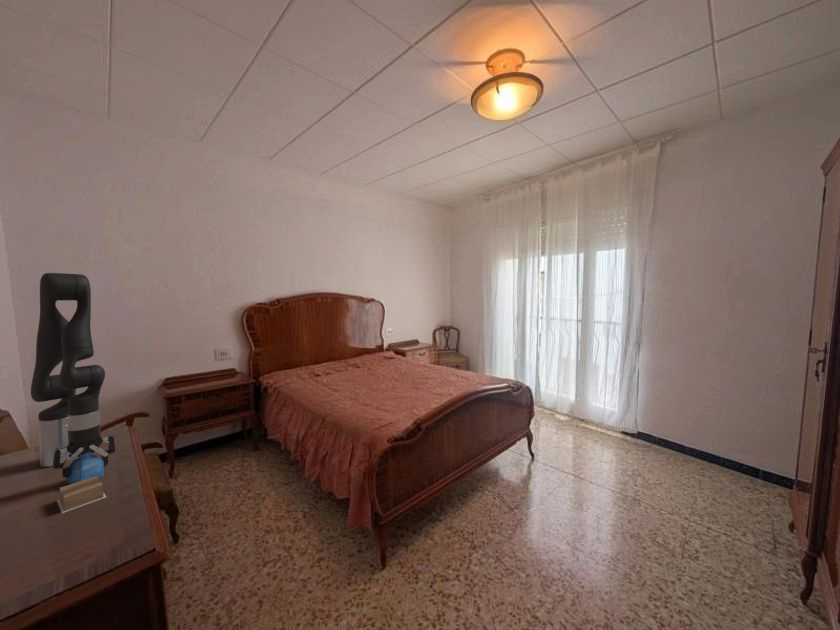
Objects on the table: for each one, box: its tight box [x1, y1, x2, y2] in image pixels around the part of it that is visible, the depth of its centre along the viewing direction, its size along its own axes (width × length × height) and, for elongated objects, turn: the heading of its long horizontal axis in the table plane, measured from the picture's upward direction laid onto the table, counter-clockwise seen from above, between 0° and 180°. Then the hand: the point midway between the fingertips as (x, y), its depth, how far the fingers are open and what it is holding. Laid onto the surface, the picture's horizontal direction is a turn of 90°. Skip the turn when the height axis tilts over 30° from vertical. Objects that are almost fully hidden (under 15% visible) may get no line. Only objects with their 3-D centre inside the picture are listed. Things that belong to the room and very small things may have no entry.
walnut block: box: [59, 476, 104, 512], centre depth 96 cm, size 8×8×4 cm
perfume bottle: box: [66, 448, 105, 485], centre depth 106 cm, size 6×6×12 cm
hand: (86, 472), depth 107 cm, fingers open, 8 cm apart
